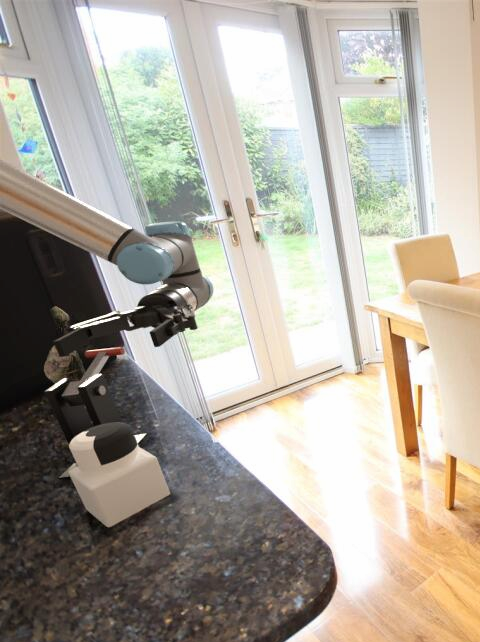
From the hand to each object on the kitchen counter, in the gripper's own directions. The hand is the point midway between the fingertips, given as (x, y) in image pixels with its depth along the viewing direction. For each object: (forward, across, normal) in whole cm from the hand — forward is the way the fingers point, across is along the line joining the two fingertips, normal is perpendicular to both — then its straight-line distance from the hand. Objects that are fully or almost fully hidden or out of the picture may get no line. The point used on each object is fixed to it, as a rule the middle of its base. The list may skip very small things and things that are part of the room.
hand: (107, 344), depth 75 cm
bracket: (+10, 0, -16) cm, 19 cm away
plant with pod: (-13, +16, -16) cm, 26 cm away
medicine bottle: (+23, -9, -16) cm, 30 cm away
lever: (+6, 0, -4) cm, 7 cm away
